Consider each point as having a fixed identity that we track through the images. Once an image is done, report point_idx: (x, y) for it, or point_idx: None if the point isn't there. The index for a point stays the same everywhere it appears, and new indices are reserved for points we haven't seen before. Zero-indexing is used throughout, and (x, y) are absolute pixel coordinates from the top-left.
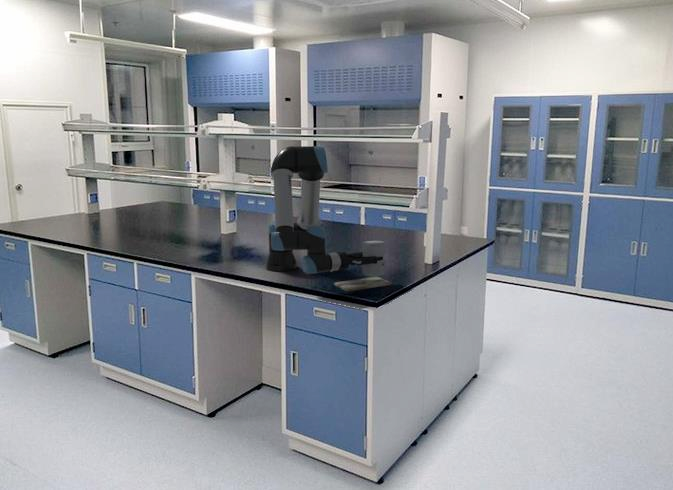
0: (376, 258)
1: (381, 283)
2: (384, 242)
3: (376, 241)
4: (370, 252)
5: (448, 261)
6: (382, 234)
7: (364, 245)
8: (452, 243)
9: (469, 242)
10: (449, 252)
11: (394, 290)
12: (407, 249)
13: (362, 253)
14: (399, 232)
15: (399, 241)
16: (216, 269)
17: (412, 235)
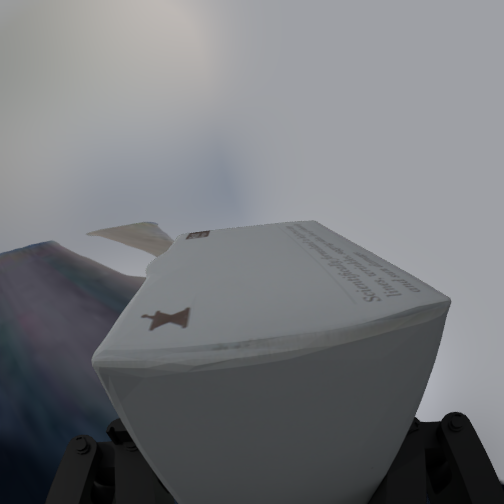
0: (465, 426)
1: None
2: (320, 224)
3: (254, 238)
4: (401, 444)
5: None
6: (10, 259)
7: (195, 428)
8: (118, 236)
9: (135, 229)
10: (146, 247)
11: None
12: (72, 267)
13: (142, 483)
14: (29, 249)
15: (42, 260)
16: None
17: (50, 246)
